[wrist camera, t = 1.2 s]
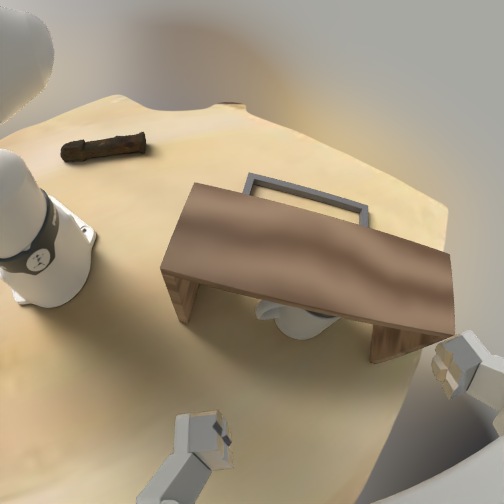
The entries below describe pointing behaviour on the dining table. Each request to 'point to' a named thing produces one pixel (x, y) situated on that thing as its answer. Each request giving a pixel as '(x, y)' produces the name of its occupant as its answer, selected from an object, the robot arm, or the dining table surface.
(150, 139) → the dining table surface
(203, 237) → the wooden bridge arch
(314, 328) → the mug
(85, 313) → the dining table surface
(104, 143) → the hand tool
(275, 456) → the dining table surface
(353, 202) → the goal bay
